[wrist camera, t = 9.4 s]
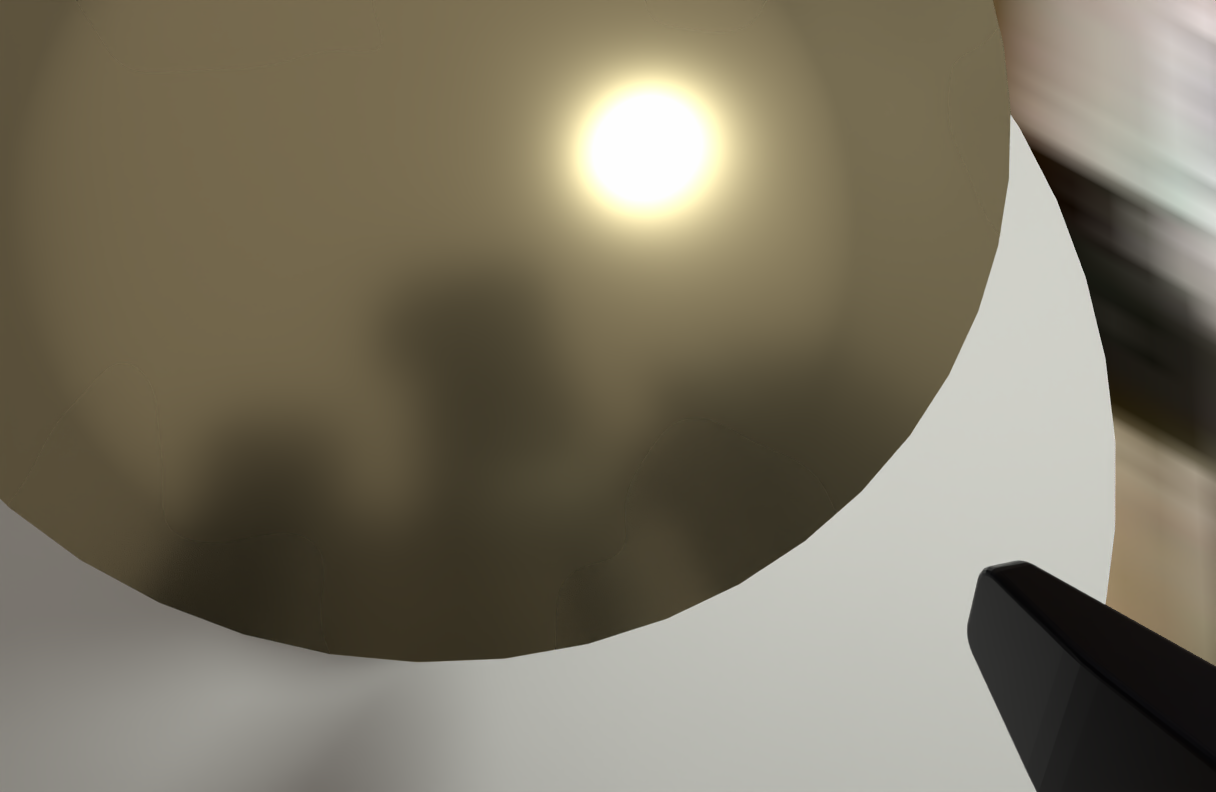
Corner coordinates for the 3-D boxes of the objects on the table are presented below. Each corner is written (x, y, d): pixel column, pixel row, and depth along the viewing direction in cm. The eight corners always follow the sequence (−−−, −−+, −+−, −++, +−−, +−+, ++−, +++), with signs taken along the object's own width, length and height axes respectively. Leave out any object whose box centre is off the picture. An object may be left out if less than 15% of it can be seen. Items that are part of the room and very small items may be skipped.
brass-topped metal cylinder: (435, 732, 15) (391, 1066, 4) (134, 395, 15) (-591, -54, 5) (751, 430, 17) (1284, 141, 6) (471, 128, 17) (505, -669, 6)
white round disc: (384, 1548, 14) (379, 1626, 13) (-643, 353, 15) (-725, 334, 14) (1311, 463, 19) (1362, 455, 18) (503, -387, 20) (506, -443, 19)
